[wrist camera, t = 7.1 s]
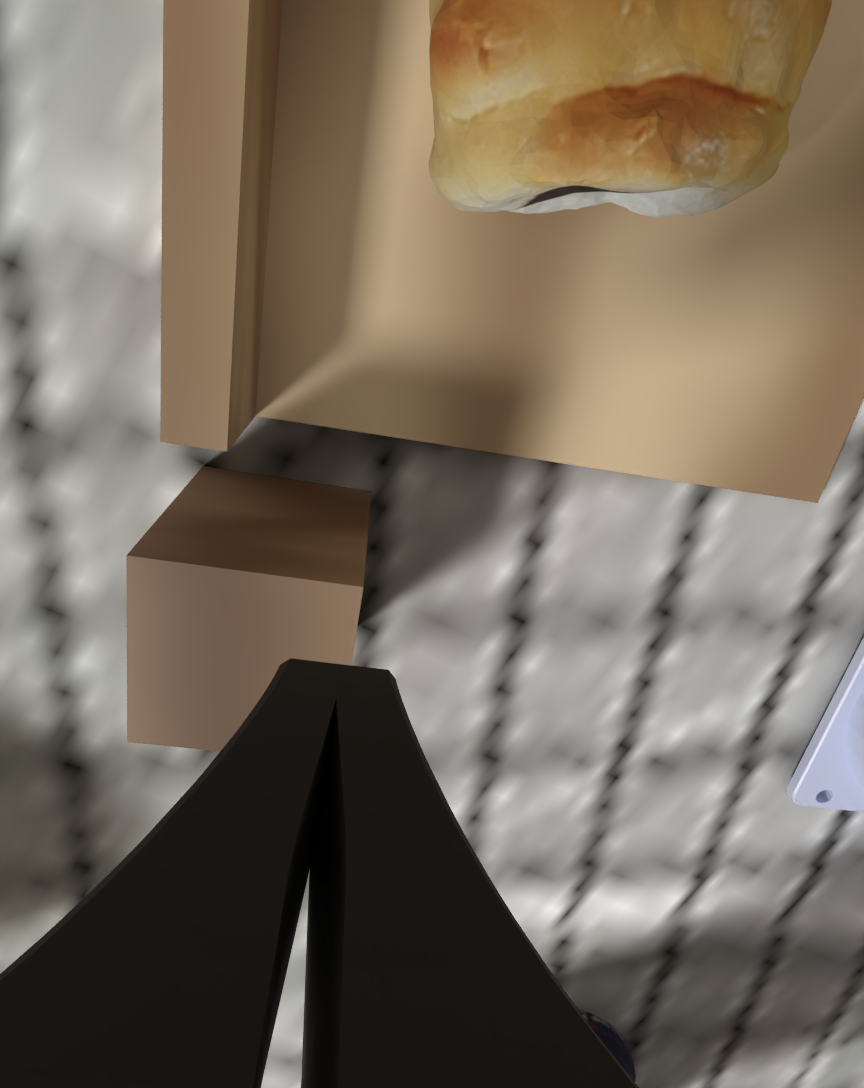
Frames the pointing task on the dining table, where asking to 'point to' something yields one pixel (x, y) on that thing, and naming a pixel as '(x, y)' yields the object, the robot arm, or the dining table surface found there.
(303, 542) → the walnut block
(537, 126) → the pastry
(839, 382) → the board
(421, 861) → the robot arm
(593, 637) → the dining table surface
